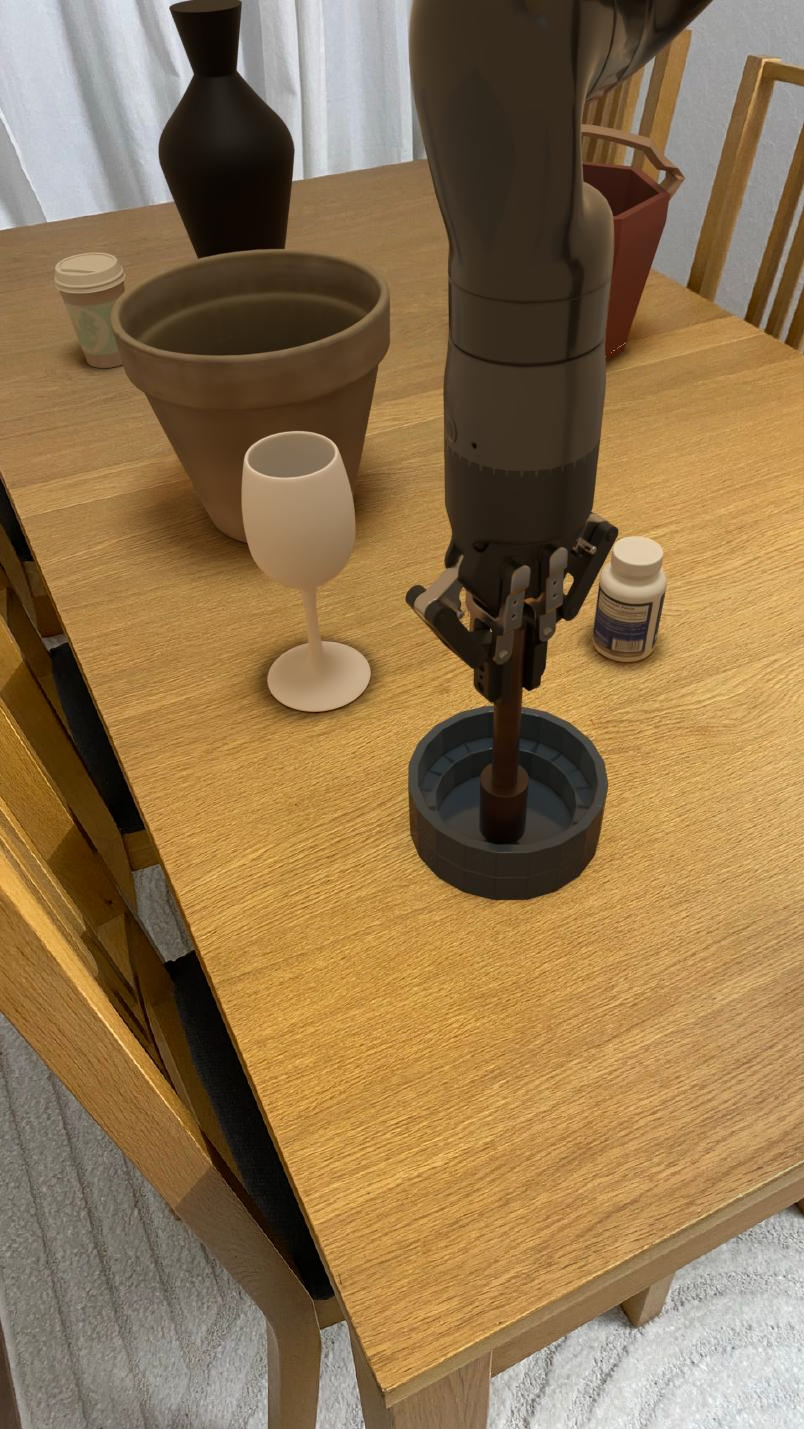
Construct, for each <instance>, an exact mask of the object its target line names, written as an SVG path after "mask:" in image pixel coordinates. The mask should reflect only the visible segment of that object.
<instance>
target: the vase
mask: <svg viewBox="0 0 804 1429" xmlns="http://www.w3.org/2000/svg"><path fill="white" fill-rule="evenodd" d="M242 6H243V1H242V0H184V1H179V2H176V3H173V4H171V5H170V6H169V11H170V14H171V17H172V20H173V22H174V23H173V24H174V25H175V28H176V31H177V34H178V36H179V39H180V41H181V44H182V47H183V49H184V52H185V56H186V57H187V61H188V62H189V65H190V68H191V70H192V73H193V75H192V77H191V79H190V81H189V84H188V85H187V88H186V89H185V91H184V93H183V95H182V97H181V98H180V101H179V102H178V103H177V105H176V107H175V109H174V110H173V112H172V114H171V115H170V117H168V118H169V119H168V120H167V122H166V123H165V125H164V128H163V129H162V130H161V134H160V137H159V140H158V145H157V146H158V147H157V148H158V149H157V150H158V151H157V152H158V161H159V166H160V169H161V171H162V173H163V176H164V179H165V182H166V184H167V187H168V189H169V192H170V194H171V197H172V200H173V202H174V204H175V206H176V209H177V211H178V215H179V216H180V219H181V222H182V223H183V226H184V229H185V231H186V234H187V236H188V239H189V241H190V243H191V246H192V248H193V251H194V253H195V256H196V259H200V258H204V257H209V256H214V255H219V254H225V253H232V252H240V251H250V250H266V249H286V242H287V234H288V225H289V214H290V206H291V196H292V189H293V188H292V187H293V177H294V167H295V166H294V165H295V151H296V150H295V142H294V139H293V136H292V133H291V131H290V130H289V128H288V126H287V124H286V122H285V121H284V120H283V119H282V118H281V116H280V115H279V114H278V113H277V112H276V111H275V110H274V109H272V107H271V106H269V104H268V103H266V102H265V100H263V99H262V98H261V96H260V95H259V94H258V93H257V92H256V91H255V90H254V89H253V87H251V85H250V84H249V83H248V82H247V81H246V80H245V78H244V77H243V76H242V75H241V74H240V73H239V71H238V61H239V60H238V58H239V46H240V34H241V33H240V32H241V20H242V9H243V8H242Z"/></svg>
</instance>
